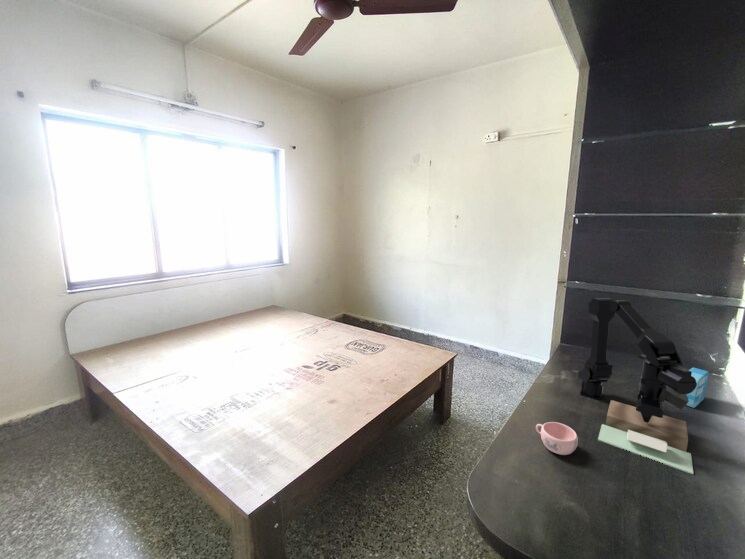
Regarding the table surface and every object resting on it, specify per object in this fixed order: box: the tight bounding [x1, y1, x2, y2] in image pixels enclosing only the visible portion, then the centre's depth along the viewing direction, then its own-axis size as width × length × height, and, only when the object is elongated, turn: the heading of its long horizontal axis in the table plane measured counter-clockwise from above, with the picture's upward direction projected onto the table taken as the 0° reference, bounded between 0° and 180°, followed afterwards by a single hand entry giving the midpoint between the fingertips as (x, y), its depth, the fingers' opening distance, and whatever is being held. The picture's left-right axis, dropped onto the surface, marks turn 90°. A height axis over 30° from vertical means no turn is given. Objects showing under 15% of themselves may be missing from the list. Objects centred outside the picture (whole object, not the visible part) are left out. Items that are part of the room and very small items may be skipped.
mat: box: [597, 423, 694, 475], centre depth 101 cm, size 22×10×1 cm, turn 49°
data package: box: [685, 367, 710, 409], centre depth 123 cm, size 12×4×12 cm, turn 122°
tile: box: [627, 430, 667, 452], centre depth 100 cm, size 9×6×2 cm, turn 51°
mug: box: [535, 421, 579, 456], centre depth 101 cm, size 12×10×6 cm
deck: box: [605, 399, 689, 452], centre depth 109 cm, size 20×12×4 cm, turn 49°
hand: (646, 421), depth 105 cm, fingers closed
